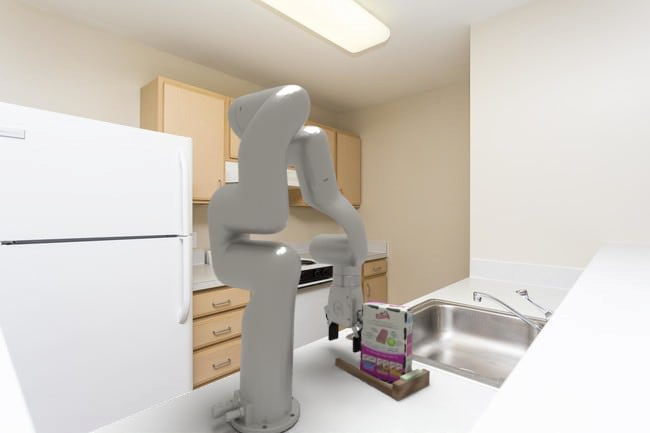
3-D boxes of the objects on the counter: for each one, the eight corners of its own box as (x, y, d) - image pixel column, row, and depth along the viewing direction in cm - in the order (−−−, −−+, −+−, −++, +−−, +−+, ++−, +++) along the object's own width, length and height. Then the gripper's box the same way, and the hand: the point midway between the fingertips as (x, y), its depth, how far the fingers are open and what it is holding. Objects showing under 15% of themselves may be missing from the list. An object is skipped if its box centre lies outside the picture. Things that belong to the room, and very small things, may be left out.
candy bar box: (412, 379, 74) (414, 307, 74) (404, 388, 69) (407, 311, 70) (368, 366, 80) (370, 299, 80) (358, 373, 76) (361, 303, 76)
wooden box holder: (398, 400, 64) (398, 382, 65) (335, 365, 80) (335, 350, 80) (429, 384, 71) (429, 368, 71) (365, 354, 86) (366, 341, 87)
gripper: (316, 276, 90) (314, 338, 90) (359, 288, 76) (357, 360, 76) (336, 274, 94) (335, 332, 94) (380, 284, 81) (379, 353, 81)
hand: (345, 345), depth 85 cm, fingers open, 9 cm apart
